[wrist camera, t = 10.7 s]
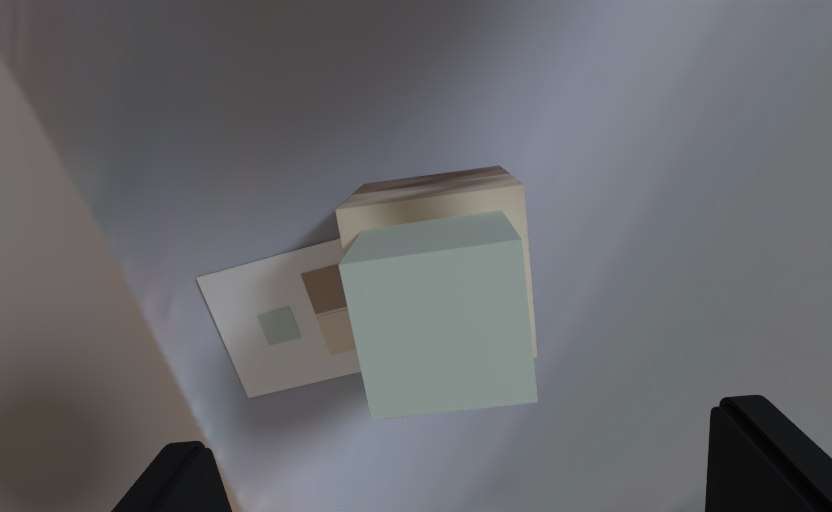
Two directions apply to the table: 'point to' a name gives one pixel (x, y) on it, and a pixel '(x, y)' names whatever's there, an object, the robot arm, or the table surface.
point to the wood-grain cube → (439, 207)
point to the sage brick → (440, 315)
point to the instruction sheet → (284, 318)
